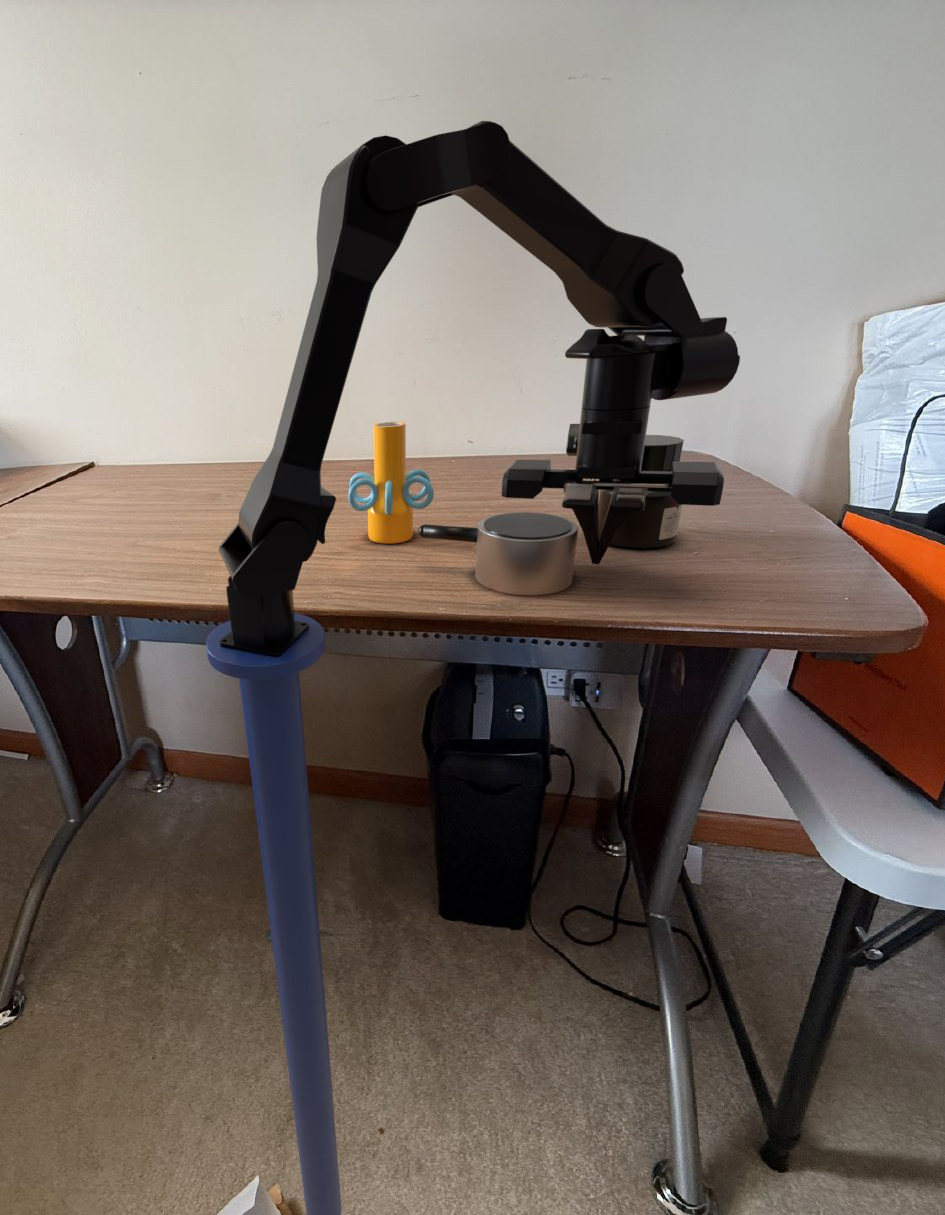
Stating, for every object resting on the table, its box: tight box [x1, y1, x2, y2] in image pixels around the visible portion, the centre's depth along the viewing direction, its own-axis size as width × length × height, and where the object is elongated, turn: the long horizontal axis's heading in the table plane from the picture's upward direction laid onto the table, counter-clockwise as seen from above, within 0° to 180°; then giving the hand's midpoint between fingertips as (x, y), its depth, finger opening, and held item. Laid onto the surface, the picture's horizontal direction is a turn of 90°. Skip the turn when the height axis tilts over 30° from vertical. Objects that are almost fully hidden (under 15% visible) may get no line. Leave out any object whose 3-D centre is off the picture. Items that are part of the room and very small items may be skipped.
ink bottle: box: [598, 434, 684, 549], centre depth 75 cm, size 10×9×12 cm
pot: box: [417, 511, 579, 596], centre depth 69 cm, size 17×10×6 cm, turn 62°
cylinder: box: [347, 421, 435, 545], centre depth 82 cm, size 12×10×15 cm
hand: (595, 562), depth 65 cm, fingers closed
